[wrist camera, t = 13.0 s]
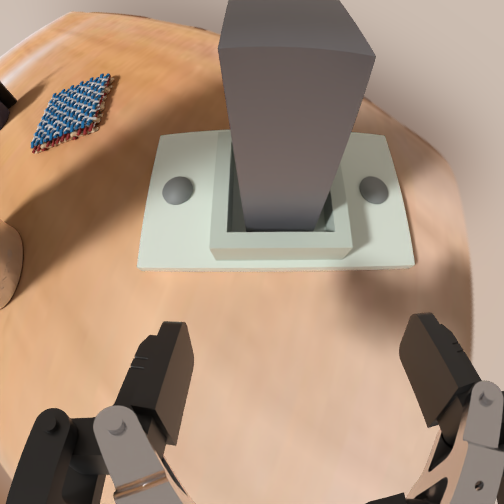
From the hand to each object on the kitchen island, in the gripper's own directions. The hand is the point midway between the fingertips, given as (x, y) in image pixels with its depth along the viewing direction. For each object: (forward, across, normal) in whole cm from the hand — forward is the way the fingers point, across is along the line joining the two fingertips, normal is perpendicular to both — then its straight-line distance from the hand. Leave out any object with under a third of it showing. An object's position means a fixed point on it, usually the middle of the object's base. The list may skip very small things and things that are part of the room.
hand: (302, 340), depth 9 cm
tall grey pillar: (+13, 0, -1) cm, 13 cm away
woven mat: (+24, +24, -10) cm, 36 cm away
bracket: (+14, 0, -1) cm, 14 cm away
